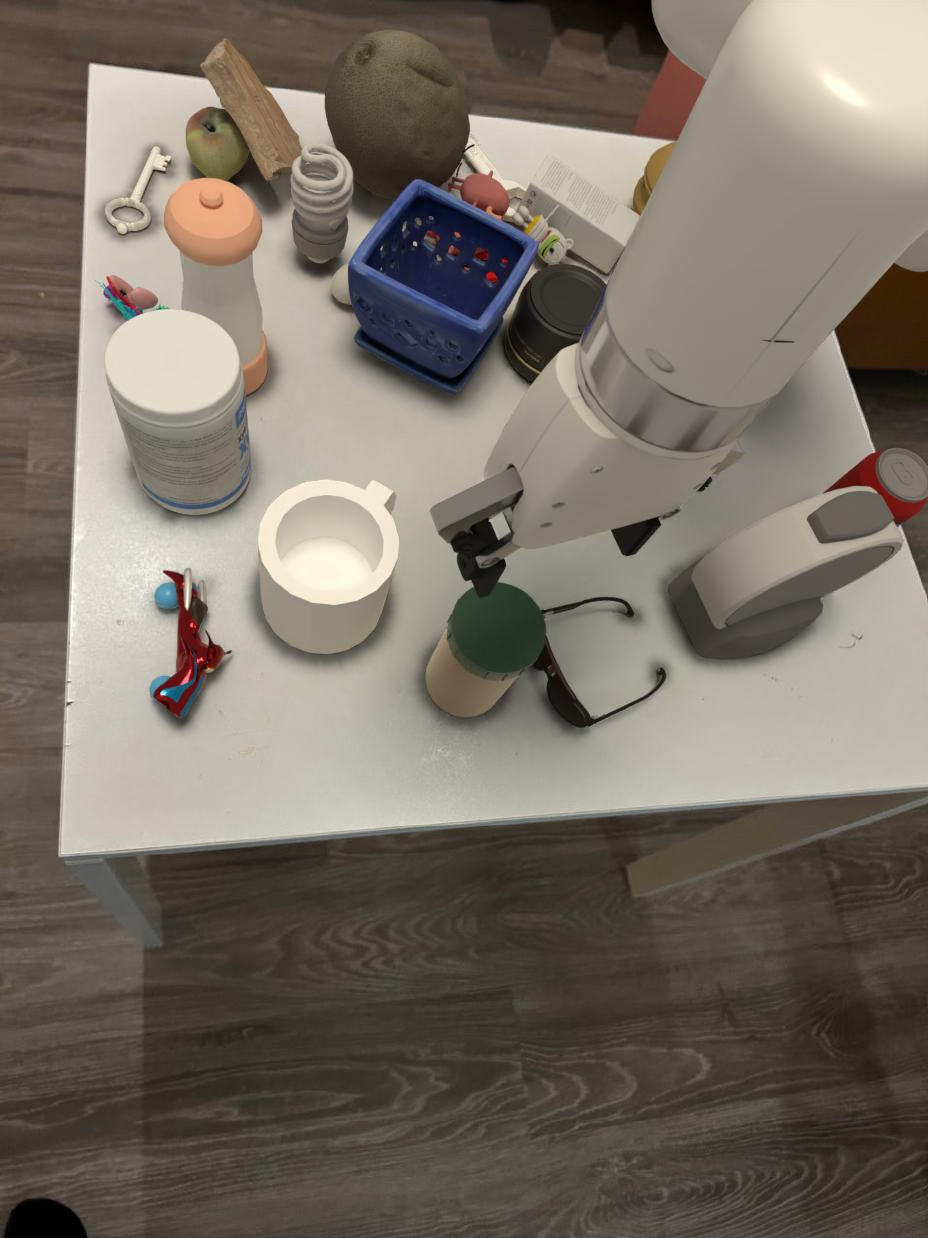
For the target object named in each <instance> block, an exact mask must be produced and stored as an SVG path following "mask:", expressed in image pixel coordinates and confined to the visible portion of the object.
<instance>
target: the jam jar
mask: <svg viewBox="0 0 928 1238" xmlns="http://www.w3.org/2000/svg"><path fill="white" fill-rule="evenodd" d="M446 639H447V626H446V628H445V630H444V631H443V634H442V635H441V637H440V639H439V641H438V644H437V645H436V647H435V649H434V651H433V653H432V655H431V657H430V659H429V661H428V663H427V666H426V670H425V676H424V681H425V687H426V690H427V693H428V695H429V697H430V698H431V700H432V701H433V702H434V704H435V705H436V706H437V707H438V708H439V709H441V710H442V711H443V712H445V713H447V714H449V715H451V716H455V717H458V718H474V717H478V716H480V715H483V714H485V713H487V712H488V711H489V710H491V709H492V708H493V706H494V705H496V703H497V702H498V701H499V700H500V698H501V697H502V696H503V695H504V694H505V693H506V691H508V690H509V688H510V687H511V686H512V684H513V683H514V682H515V681H516V680H517V679H518V678H519V677H520V676H519V675H518V676H516V677H514V678H511V679H507V680H504V681H502V680H501V681H493V680H486V679H485V680H483V678H480V677H477V676H475V675H473V674H472V673H470V672H468V671H466V669H464V668H463V667H462V666H461V665H460V664H459V663H458V661H457V660H456V659H455V657H453V654H452V652H451V650H450V647H449V644H448V640H446Z"/></svg>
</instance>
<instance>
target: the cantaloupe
mask: <svg viewBox="0 0 928 1238" xmlns="http://www.w3.org/2000/svg"><path fill="white" fill-rule="evenodd" d="M325 83H326V84H325V88H324V111H325V112H324V114H325V117H326V118H325V119H326V122H327V126H328V129H329V133H330V134H331V138H332V141H333V142H332V143H333V145H334V149H336V150H338V151H339V152H340V153H342V154H343V155H344V156H345V157H346V159H347V160H348V161H349V163H350V165H351V167H352V171H353V180H354V181H356V182H357V183H358V184H359V185H360V186H361V187H363V188H364V189H365V190H366V191H368V192H370V193H372V194H373V195H376V196H378V197H380V198H383V199H387V200H391V201H395V200H396V199H397V198H398V196H399V195H400V194H401V193H402V192H403V191H404V190H405V188H406V187H407V186H408V185H409V184H410V183H411V182H412V181H414V180H416V179H419V180H423V181H425V182H427V183H430V184H432V185H434V186H436V187H438V188H441V187H442V186H443V185H445V184H446V183H447V182H448V181H449V180H450V179H451V178H452V177H453V175H454V174H456V172H457V169H458V166H459V165H460V163H461V162H462V160H463V157H464V156H465V154H464V153H462V152H463V151H464V150H465V148H466V145H467V143H468V139H469V134H470V132H471V123H470V116H469V108H468V102H467V97H466V93H465V89H464V87H463V85H462V82H461V81H460V79H459V77H458V74H457V72H456V69H455V68H454V66H453V64H452V63H451V62H450V60H449V59H448V58H447V57H446V56H445V55H444V54H443V52H441V50H439V49H438V48H437V47H436V46H435V45H434V44H432V43H431V42H429V41H428V40H427V39H425V38H423V37H421V36H419V35H417V34H414V33H412V32H408V31H404V30H397V29H382V30H377V31H373V32H371V33H367V34H364V35H361V36H360V37H358V38H357V39H355V40H354V41H352V42H351V43H350V44H348V45H347V46H346V47H344V49H343V50H342V51H341V52H340V53H339V54H338V56H337V57H336V58H335V60H334V62H333V63H332V66H331V69H330V71H329V74H328V76H327V80H326V82H325Z"/></svg>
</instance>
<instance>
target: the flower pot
mask: <svg viewBox="0 0 928 1238" xmlns="http://www.w3.org/2000/svg"><path fill="white" fill-rule="evenodd" d="M430 217H431V218H432V219H431V218H430ZM416 219H418V220H420V221H421V224H419V223H417V221H416ZM404 225H405V228H404ZM403 228H404V230H403ZM427 231H432V232H433V233H435V234H436V235H438V236H439V237H440V239H439V241H437V244H436V246H435V247H433V245H431V244H430V243H429V242H427V241H426V239H425V237H426V236H427V235H426V233H427V234H428V232H427ZM455 232H457V233H459V234H460V236H461V237H456V235H455ZM425 235H426V236H425ZM414 242H415V243H416V245H414ZM450 246H454V247H456V248H457V249H459V250H460V253H459V255H458V256H457V257H454V256H453V255H451V254H450V253H449V252H448V249H449V247H450ZM538 247H539V244H538V242H537V241H536V240H535V239H533V238H532V237H530V236H528V235H527V234H525V233H523V230H520V229H519V228H517V227H515V226H512V225H511V224H509V223H507V222H506V221H504V220H500V219H498V218H496V217H494V216H493V215H491V214H489V213H487V212H485V211H483V210H481V209H479V208H477V207H475V206H473V205H471V204H469V203H467V202H465V201H463V200H462V199H461V198H459V197H457V196H456V195H453V194H452V193H450V192H449V191H448V192H447V191H445V190H444V189H442V188H441V187H439V188H438V187H436V186H434V185H432V184H430V183H427V182H425V181H423V180H419V179H416V180H414V181H412V182H411V183H410V184H409V185H408V186H407V187H406V188H405V190H404V191H403V192H402V193H401V194H400V195H399V196H398V198H397V199H396V200H393V203H392V204H391V205H390V206H389V207H388V209H387V210H386V211H385V212H384V213H383V214H382V215H381V217H380V218H379V219H378V220H377V221H376V222H375V224H374V225H373V227H372V228H371V229H370V230H369V232H368V233H367V234H366V235H365V237H364V238H363V240H362V241H361V242H360V244H359V245H358V246H357V248H356V249H355V251H354V253H353V254H352V256H351V258H350V259H349V261H348V262H349V264H348V287H349V295H350V300H351V304H352V305H351V308H352V311H353V313H354V315H355V318H356V320H357V322H358V324H359V325H360V326H359V328H358V329H357V331H356V332H355V334H354V336H353V341H354V344H355V345H357V346H358V347H359V348H361V349H362V350H364V351H365V352H367V353H369V354H371V355H373V356H375V357H377V358H378V359H380V360H382V361H384V362H386V363H387V364H389V365H391V366H393V367H395V368H397V369H399V370H401V371H403V372H404V373H406V374H408V375H410V376H412V377H413V378H416V379H418V380H419V381H420V382H421V381H422V382H424V383H425V384H427V385H429V386H431V387H432V388H435V389H437V390H438V391H441V392H443V393H445V394H447V395H449V396H457V395H459V394H460V393H461V391H462V390H463V388H464V387H465V386H466V384H467V382H468V381H469V379H470V378H471V376H472V375H473V373H474V372H475V370H476V369H477V367H478V366H479V364H480V363H481V361H482V360H483V358H484V356H485V354H487V351H488V350H489V348H490V346H491V344H492V343H493V342H494V340H495V339H496V337H497V335H498V334H499V332H500V330H501V328H502V326H503V324H504V322H505V321H504V320H505V319H504V315H505V314H506V312H507V310H508V309H509V307H510V305H511V304H512V302H513V301H514V298H515V297H516V295H517V293H518V291H519V290H520V288H521V286H522V284H523V282H524V280H525V278H526V276H527V274H528V273H529V270H530V269H531V268H532V267H531V266H532V264H533V262H534V261H535V258H536V256H537V254H538V252H537V251H538ZM477 248H481V249H483V250H486V251H487V252H488V258H487V260H486V261H485V260H481V259H477V258H475V251H476V249H477ZM438 256H439V257H440V258H441V260H438ZM502 258H505V259H506V260H507V261H508V262H507V264H506V263H504V262H503V261H502ZM464 267H465V268H466V267H468V268H469V269H467V268H466V269H467V270H468V271H467V270H466V269H465V268H464ZM381 269H382V270H381ZM380 270H381V272H380ZM489 272H493V273H494V274H495V275H496V277H497V278H498V281H496V282H490V281H489V280H488V278H487V277H486V275H487V274H488V273H489Z"/></svg>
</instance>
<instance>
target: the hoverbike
mask: <svg viewBox="0 0 928 1238" xmlns="http://www.w3.org/2000/svg"><path fill="white" fill-rule="evenodd" d="M162 573H163V574H164V575H166V576H167V577H168V578H170V579H171V580H172V582H173V583H171V582H165V583H161V584H160V585H159V586H157V588H155V591H154V601H155V603H156V604H157V605H158V606H159V607H160V608H162V609H164V610H165V609H166V610H172V609H175V608H177V607H178V608H177V623H176V624H177V626H176V659H175V671H176V672H175V673H174V674H173V675H172V676H169V675H160V676H157V677H155V678H154V679H153V680H152V681H151V683H150V685H149V690H148V691H149V694H150V697H151V698H152V699H153V700H154V701H155V702H157V703H159V704H160V705H161V706H163V707H165V708H166V709H167V710H168V711H169V712H170V713H172V714H173V715H175V716H176V717H177V718H180V719H183V718H185V717H186V716H187V715H188V713H189V712H190V709H191V708H192V706H193V704H194V702H195V701H196V699H197V697H198V695H199V694H200V692H201V690H202V689H203V687H204V684H205V681H206V677H207V674H210V673H213V672H215V670H217V669H218V668H219V666H220V664H221V662H222V660H223V658H224V657H225V656H226V655H230V654H232V653H233V650H232V649H229V650H227V651H225V650H224V648H223V647H222V646H221V645H220V644H216V643H214V642H213V640H212V637H211V635H210V634H209V633H210V632H208V630H207V629H206V628H204V632H205V634H206V636H207V639H208V644H207V643H205V642H204V641H203V640H202V638H201V636H200V633H199V631H200V628H201V626H202V624H203V621H204V619H205V618H206V616H207V614H208V612H209V607H208V604H206V603H207V598H206V597H207V588H206V581H205V580H204V579H200V580H198V583H197V584H196V583H195V582H193V571H192V568H191V567H186V568H184V570H183V573H180V572H178V571H174V570H168V569H167V570H166V569H165V570H162Z"/></svg>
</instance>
